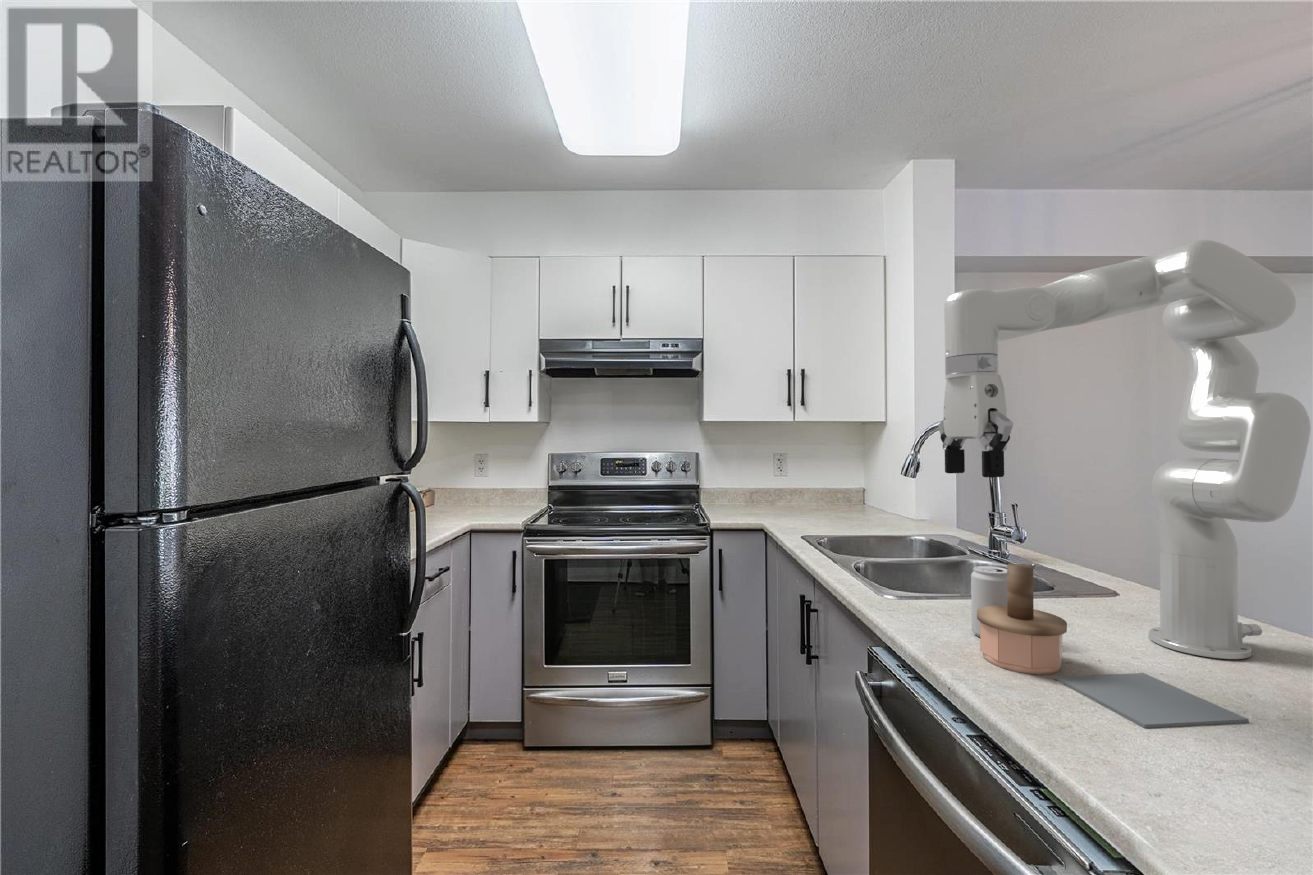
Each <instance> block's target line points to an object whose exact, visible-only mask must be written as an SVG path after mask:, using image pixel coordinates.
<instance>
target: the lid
mask: <svg viewBox="0 0 1313 875" xmlns="http://www.w3.org/2000/svg"><path fill="white" fill-rule="evenodd" d="M1006 569H1007V606H986V607H981V608H979V609H978V610H977V619H978V620H979V621H980V622H981V623H983V624H985V625H987V626H990V627H992V628H995V629H999V630H1002V631H1007V632H1011V633H1017V634H1023V635H1032V636H1056V635H1062V636H1063V635H1064V634H1066V633H1067V631H1068V623H1067V621H1066V620H1065V619H1063V618H1062V617H1061V616H1057V615H1056V614H1053V613H1050V612H1046V611H1042V610H1038V609H1034V608H1035V607H1034V566H1032V565H1029V564H1025V563H1024V564H1023V563H1008V564H1006Z"/></svg>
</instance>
